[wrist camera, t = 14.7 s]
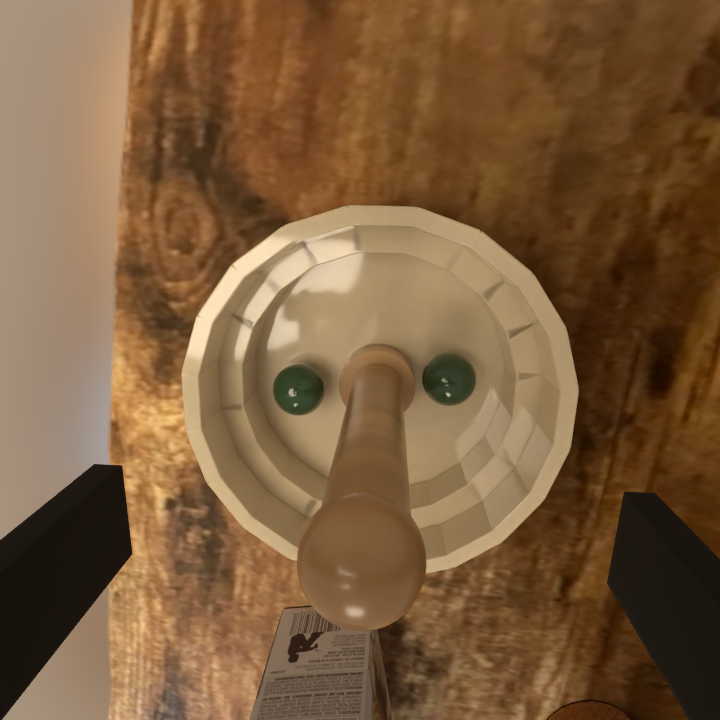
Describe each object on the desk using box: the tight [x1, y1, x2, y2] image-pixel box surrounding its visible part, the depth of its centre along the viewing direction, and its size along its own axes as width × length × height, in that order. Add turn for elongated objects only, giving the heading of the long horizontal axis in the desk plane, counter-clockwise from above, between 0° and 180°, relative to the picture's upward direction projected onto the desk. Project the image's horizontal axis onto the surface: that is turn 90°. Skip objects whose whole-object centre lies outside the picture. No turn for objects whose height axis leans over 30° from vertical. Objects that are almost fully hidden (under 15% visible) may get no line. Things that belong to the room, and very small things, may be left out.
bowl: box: [182, 205, 579, 574], centre depth 25 cm, size 18×18×6 cm
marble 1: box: [273, 363, 326, 416], centre depth 26 cm, size 3×3×3 cm
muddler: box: [297, 344, 426, 631], centre depth 19 cm, size 4×4×17 cm
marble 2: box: [422, 352, 477, 406], centre depth 26 cm, size 3×3×3 cm
